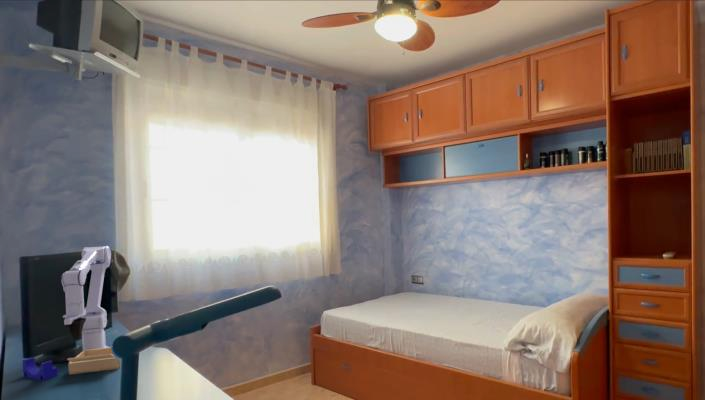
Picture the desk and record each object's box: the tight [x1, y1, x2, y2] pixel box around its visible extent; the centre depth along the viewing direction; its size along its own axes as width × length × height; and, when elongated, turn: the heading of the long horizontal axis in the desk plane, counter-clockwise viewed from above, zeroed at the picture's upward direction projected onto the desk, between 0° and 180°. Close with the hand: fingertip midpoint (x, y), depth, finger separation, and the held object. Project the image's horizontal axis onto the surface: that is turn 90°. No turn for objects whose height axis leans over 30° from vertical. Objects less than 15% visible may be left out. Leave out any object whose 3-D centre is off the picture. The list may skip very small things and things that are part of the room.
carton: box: [67, 346, 121, 375], centre depth 162 cm, size 14×17×4 cm
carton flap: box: [66, 353, 114, 362], centre depth 153 cm, size 4×14×1 cm, turn 102°
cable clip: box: [22, 357, 58, 382], centre depth 153 cm, size 12×4×6 cm, turn 66°
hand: (76, 338), depth 161 cm, fingers closed
